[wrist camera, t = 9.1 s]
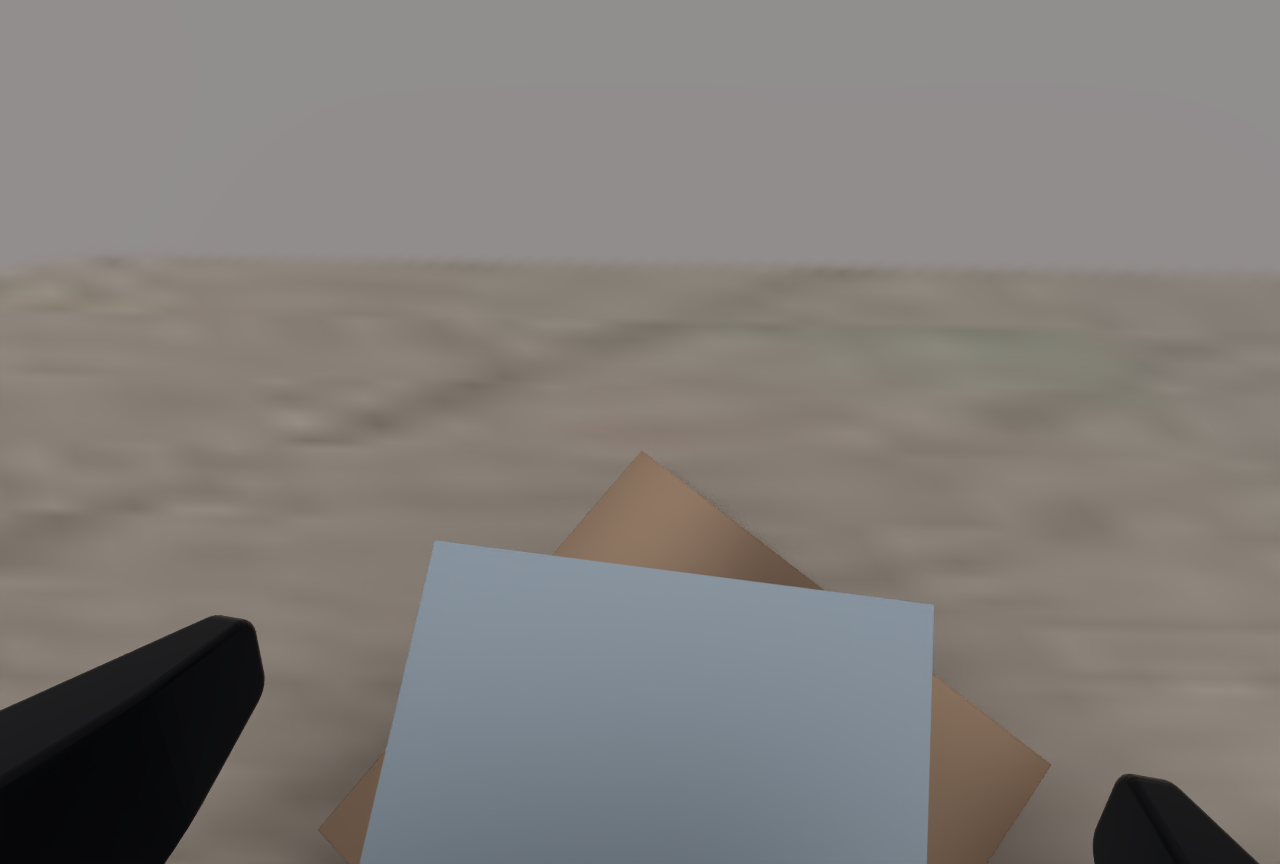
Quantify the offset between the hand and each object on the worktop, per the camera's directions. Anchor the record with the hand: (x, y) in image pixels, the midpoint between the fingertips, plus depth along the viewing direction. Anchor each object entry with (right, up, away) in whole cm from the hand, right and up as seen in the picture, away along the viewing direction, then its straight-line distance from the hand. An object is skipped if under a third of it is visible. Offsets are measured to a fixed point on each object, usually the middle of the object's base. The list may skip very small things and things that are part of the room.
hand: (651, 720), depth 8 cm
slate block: (+1, -4, +7) cm, 8 cm away
